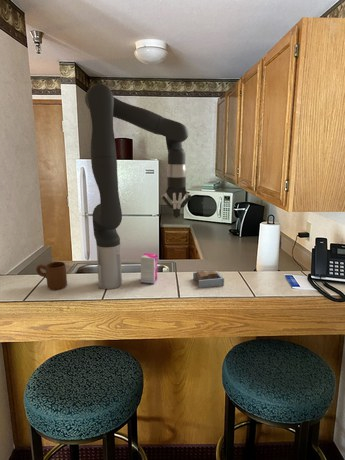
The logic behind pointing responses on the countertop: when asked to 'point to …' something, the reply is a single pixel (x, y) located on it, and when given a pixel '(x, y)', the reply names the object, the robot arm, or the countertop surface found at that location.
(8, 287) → the countertop surface
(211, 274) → the tee
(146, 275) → the supplement box
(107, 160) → the robot arm
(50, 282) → the mug
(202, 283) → the pocket fence
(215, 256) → the countertop surface
